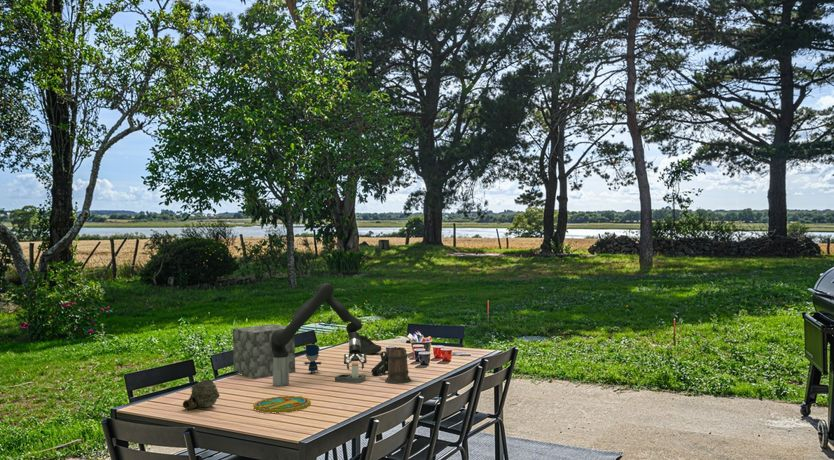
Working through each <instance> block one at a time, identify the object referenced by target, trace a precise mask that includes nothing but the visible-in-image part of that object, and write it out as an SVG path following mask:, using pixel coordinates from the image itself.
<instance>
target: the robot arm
mask: <svg viewBox="0 0 834 460" xmlns="http://www.w3.org/2000/svg"><path fill="white" fill-rule="evenodd" d="M334 290H335V287H334V285H333V284H332V283H329V282H324V283H321V284H318V285H317V287H316V293H315V294H314V295H313V297H311V298H310V299H308V300H307V301H306V302H304V303H303V304H302V305H300V306H299V308H297V310H295V312H294V313H293V316H292V318H291V321H290V322H289V324H288V325H286V326H287V327H286V328H285V329H284V330H283V331H281V330H276V331H274V332H273V334H272V337H271V346H272V353H273V376H272V386H276V387H284V386H288V385H289V384H290V373H289V360H288V351H287V350H286V347H285V345H287V344H288V343H289V342H290V340H291V339H292V338H293V336H294V337H295V335H296V334H297V332H298V331H299V330H300V329H301V328H302V327H303V326H304V325H305V324H306V323H307V322H308V320H310V318H311V317H312V316H313V315H314V314H315V313H316V311H317V310H318V309H319V308H320V307H321V306H322V304H323V303H324V302H325V303H326V304H327V305H328V306H329V307H330V308H331V309H332V310H333V311H334V312H335V314H336V315H337V316H338V317H339V318H340V320H341V321H342V322H343V323H348V324H347V325H346V332H347V335H348V354H346V353H345V354H344V355H343V365H346V369H347V370H350V364H352V363H353V362H359V363H361V370H364V368H365V364H367V359H368V358H367V354H366V353H364V354H363V353H362V352H361V343H360V336H361V335H360V333H359V332H358V331H360V330H361V329H362V328H363V324H362V321H361V320H360V319H359V318H358V317H356V316H354V315H353V314H352V313H351V312H350V311H349V310H348V309H347V307H346V306H344V304H342V303H341V302H340V301H339V300H338V299H336V297H335V296H334V295H333V293H334ZM351 362H352V363H351Z"/></svg>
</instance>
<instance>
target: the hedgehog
mask: <svg viewBox="0 0 834 460" xmlns="http://www.w3.org/2000/svg"><path fill="white" fill-rule="evenodd" d="M190 386H191V394H190V397H189V398H188V399H185V400H184V401H183V402H182V407H183V408H184V409H185V410H186V409H187V411H189V410H188V409H191V410H193V409H195V408H197V407H200V408H206V407H207V408H208V406H209V407H213V405H215V404H216V402H217V400H218V398H220V393H219V390H218V388H217V385H216V384H215V382H214V381H213V380H212V379H210V378H208V379H203V380H201V381H199V382H196V383H195V384H194V385H190Z"/></svg>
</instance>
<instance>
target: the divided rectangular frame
mask: <svg viewBox="0 0 834 460" xmlns="http://www.w3.org/2000/svg"><path fill="white" fill-rule="evenodd" d="M365 381H366V375H359V378H352V374H342V373H341V374H338V375H336V376H334V382H335V383H346V382H347V383H348V384H361V383H364V382H365Z"/></svg>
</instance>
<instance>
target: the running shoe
mask: <svg viewBox="0 0 834 460" xmlns="http://www.w3.org/2000/svg"><path fill="white" fill-rule="evenodd" d="M360 343H361V354H364V353H366V355H372V354H376V353H381V352H382V345H378V344H376V343H374V342H373V341H372V340H371V339H370V338H369V337H368V336H367V335H365V336H364V335H360Z"/></svg>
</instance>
